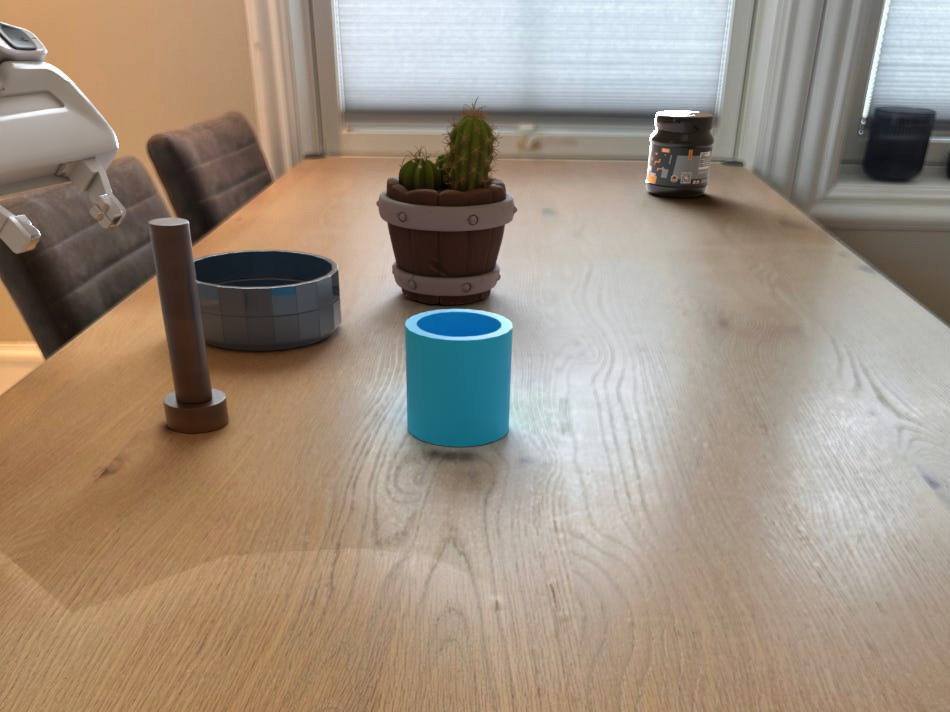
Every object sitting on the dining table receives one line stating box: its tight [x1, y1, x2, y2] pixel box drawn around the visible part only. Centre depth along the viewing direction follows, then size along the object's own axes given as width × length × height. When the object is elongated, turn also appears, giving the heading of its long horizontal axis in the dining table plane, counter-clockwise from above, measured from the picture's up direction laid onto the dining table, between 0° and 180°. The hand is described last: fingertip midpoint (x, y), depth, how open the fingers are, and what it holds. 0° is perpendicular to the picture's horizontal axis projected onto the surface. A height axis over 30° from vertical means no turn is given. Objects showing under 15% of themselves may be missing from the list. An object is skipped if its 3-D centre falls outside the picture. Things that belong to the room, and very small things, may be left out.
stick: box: [147, 217, 230, 434], centre depth 74 cm, size 5×5×15 cm
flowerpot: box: [375, 96, 518, 306], centre depth 105 cm, size 14×15×20 cm
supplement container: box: [645, 110, 715, 199], centre depth 164 cm, size 10×10×12 cm
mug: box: [404, 308, 514, 448], centre depth 78 cm, size 12×8×8 cm
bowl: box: [194, 249, 342, 352], centre depth 97 cm, size 15×15×6 cm
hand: (76, 233), depth 71 cm, fingers open, 8 cm apart
